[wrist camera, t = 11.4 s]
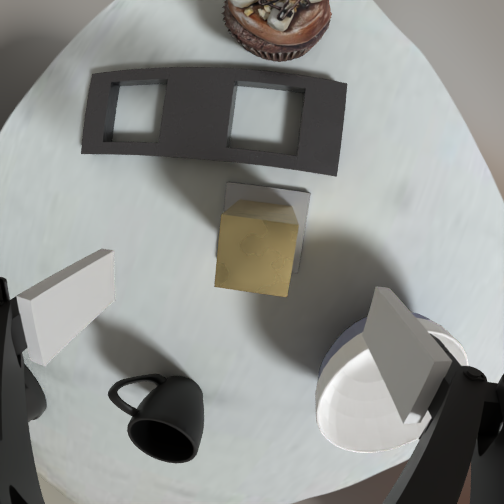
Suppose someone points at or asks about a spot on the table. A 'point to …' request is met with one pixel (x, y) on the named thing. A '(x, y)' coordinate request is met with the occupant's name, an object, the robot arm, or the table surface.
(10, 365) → the robot arm
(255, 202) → the tan wooden peg
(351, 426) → the bowl
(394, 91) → the table surface
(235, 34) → the cupcake
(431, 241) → the table surface
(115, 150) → the dark grey peg board
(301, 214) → the pad
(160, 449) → the mug
